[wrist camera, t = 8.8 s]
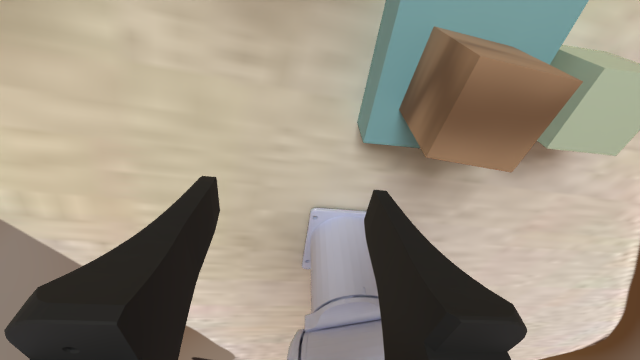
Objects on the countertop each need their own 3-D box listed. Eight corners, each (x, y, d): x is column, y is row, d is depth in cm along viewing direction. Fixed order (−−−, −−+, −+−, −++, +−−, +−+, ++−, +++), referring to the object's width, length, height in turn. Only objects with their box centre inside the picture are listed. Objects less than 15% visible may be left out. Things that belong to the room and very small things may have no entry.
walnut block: (467, 123, 20) (511, 172, 16) (398, 109, 19) (425, 157, 15) (512, 46, 17) (583, 81, 13) (433, 26, 16) (480, 56, 12)
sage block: (558, 117, 23) (615, 155, 19) (501, 110, 23) (546, 148, 18) (605, 51, 20) (685, 80, 16) (539, 41, 20) (605, 67, 15)
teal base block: (473, 131, 24) (494, 155, 22) (356, 119, 23) (363, 142, 21) (547, -10, 18) (589, -2, 16) (392, -36, 17) (409, -32, 14)
